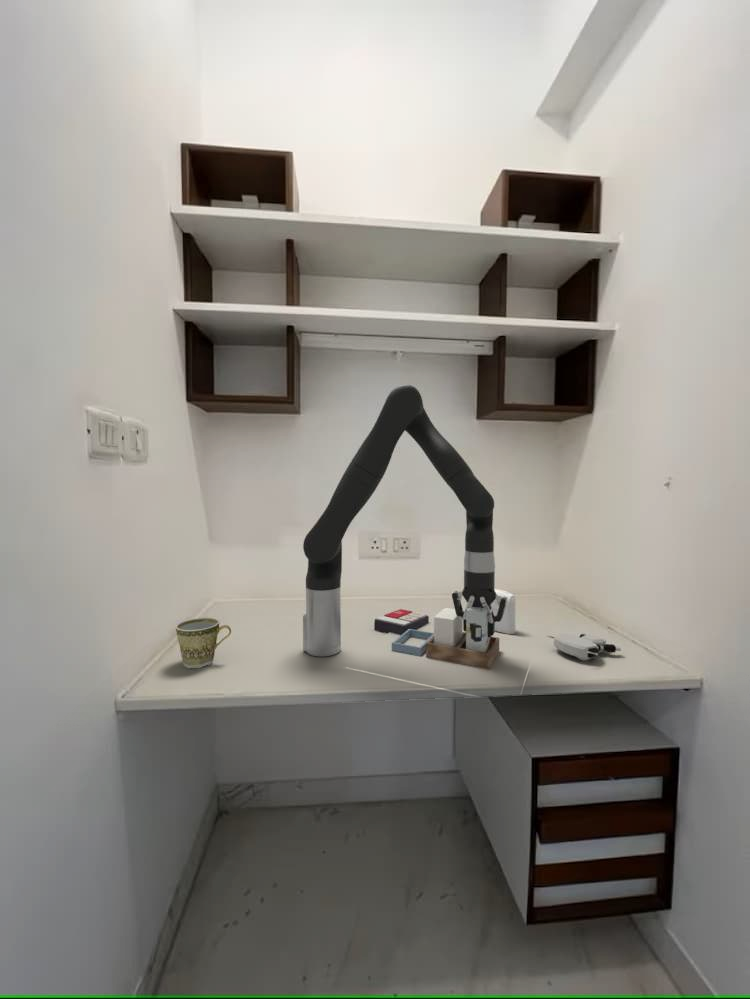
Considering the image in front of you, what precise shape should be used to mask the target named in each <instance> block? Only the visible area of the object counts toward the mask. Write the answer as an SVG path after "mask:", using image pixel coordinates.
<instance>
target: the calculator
mask: <svg viewBox="0 0 750 999" xmlns="http://www.w3.org/2000/svg"><path fill="white" fill-rule="evenodd" d="M429 620H430V616H429V615H428V614H426V613H423V612H422V613H421V612H417V611H412V610H407V609H402V608H399V609H397V610H393V611H391V612H389V613H385V614H384V615H381V616H379V617H376V618H375V619H374V622H373V623H374V626H373V627H374V628H373V630H374V631H375V632H379V633H383V634H387V635H388V634H389V633H390V634H394V635H399V636H401V635H402V634H403V633H404V632H406V631H407V630H408V629H413V630H418V629H420V628H421V627H423V626H425V625H427V624H429V623H430V622H429Z"/></svg>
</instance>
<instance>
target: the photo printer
mask: <svg viewBox="0 0 750 999" xmlns="http://www.w3.org/2000/svg"><path fill="white" fill-rule="evenodd" d="M494 589H495V592H496V595H498V596H501V597H507V603H506V606H505V610H504V614H503V618H502V619H501V621H500V622H495V632H499V633H502V634H507V635H514V634H515V633H516V597H515V596H514V595H515V594H512V593H510V592H508V591H505V590H503V589H500V588H499V589H496V588H494ZM491 606H492V609H493V613H494V616H496V615H497V613H498V609H499V605H498V604H497V600H494V601H493V602H492V604H491Z"/></svg>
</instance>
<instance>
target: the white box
mask: <svg viewBox="0 0 750 999" xmlns="http://www.w3.org/2000/svg"><path fill="white" fill-rule="evenodd" d="M433 622H434V624H433V627H434V628H433V633H434V644H438V645H444V646H450V647H457V646H458V644H459V643H460V642H461V641H462V639H463V631H464V630H463V618H462V617H460V616H457V615H456V612H455V608H447V607H445V608H443V609H442V610H441V611H440V612H438V613H437V614H436V615H435V616H434V617H433Z"/></svg>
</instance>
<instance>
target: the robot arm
mask: <svg viewBox="0 0 750 999" xmlns="http://www.w3.org/2000/svg"><path fill="white" fill-rule="evenodd" d="M404 432H406V433H407V434H408V435H409V436H410V437H411V438H412V439H413V440H414V441H415V442H416V444H417V445H419V448H421V449H422V451H423V453H424V454H425V455H426V457H427V459H428V460H429V462H430V463H431V465H432V466H433V467H434V469H435V470H436V471H437V473H438V475H439V476H440V477H441V478H442V479H443V480H444V481H443V482H445V483H446V485H447V486H448V487H449V488H450V489H451V490H452V491H453V493H454V494H455V496H456V498H458V500H459V502H460V504H461V505H462V506H463V509H464V510H465V518H466V519H465V520H466V522H465V523H466V529H465V539H464V540H465V541H464V542H465V543H464V544H465V545H464V550H465V551H464V558H463V573H464V574H463V589H462V591H457V590H455V591H453V593H452V594H451V597H452V601H453V607H454V609H455V612H456V615H457V616H460V617H462V618H463V631H464V632H466V616H467V609H468V608H469V607H482V608H484V609H487V614H488V621H489V622H488V637H489V638H491V637H494V634H495V632H496V631H495V622H500V621H501V619H502V618H503V614H504V610H505V606H506V603H507V597H501V596H498V595H496V592H495V589H496V588H495V574H496V572H495V571H496V563H495V562H496V561H495V553H494V550H495V549H494V548H495V546H494V545H495V544H494V543H495V542H494V540H495V537H494V531H493V529H494V528H493V523H494V521H493V520H494V508H495V499H494V498H493V496H492V495H491V494H490V492H489V491H488V489H487V488H486V487H485V486H484V485H483V484H482V483H481V481H480V480H479V479H478V478H477V477H476V476H475V474H474V472H473V470H472V469H471V468H470V465H468V463H467V462H466V460H464V458H463V457H462V456H461V454H460V453H459V452H458V451H457V450H456V448H455V447H454V446H453V445H452V444H451V443H450V442H449V441H448V440H447V439H446V438H445V437H444V435H442V434H441V432H440V431H439V430H437V428H436V426H435V425H434V424H433V423H432V420H431V418H430V417H429V415H428V413H427V411H426V409H425V408H424V402H423V397H422V395H421V393H420V391H419V390H418V389H417V388H416V387H415V386H413V385H410V384H401V385H398V386H396V387H394V388H393V389H392V390H391V391H390V392H389V394H388V396H387V397H386V399H385V402H384V404H383V406H382V409H381V411H380V412H379V415H378V416H377V419H376V422H374V425H373V427H372V429H371V431H370V432H369V433H368V434H367V436H366V437H365V439H364V440H363V442H362V444H361V445H360V446H359V448H358V450H357V452H356V453H355V455H354V456H353V457H352V459H351V461H350V462H349V464H348V466H347V467H346V469H345V471H344V473H343V474H342V477H341V478H340V480H339V481H338V484H337V485H336V487H335V490H334V492H333V494H332V496H331V498H330V501H329V503H328V505H327V506H326V508H325V510H324V511H323V513H322V514H321V515H320V517H319V518H318V519H317V521H316V522H315V523H314V525H313V526H312V528H311V529H310V530H309V531H308V533H307V534H306V535H305V537H304V539H303V544H302V546H303V547H302V548H303V553H304V555H305V557H306V558H307V573H306V576H305V614H303V615H302V651H303V652H306V653H307V654H308V655H310V656H313V657H330V656H334V655H336V654H339V652H341V649H342V640H341V638H342V616H341V614H342V611H341V608H342V607H341V606H342V605H341V604H342V603H341V602H342V597H341V594H342V593H341V591H342V590H341V588H342V586H341V584H342V583H341V580H342V572H343V568H342V567H343V564H342V563H343V561H342V560H343V559H342V558H343V538H344V537H345V534H346V532H347V530H348V529H349V526H350V525H351V524H352V521H353V520H354V519H355V517H356V516H357V515H358V514H359V512H361V510H362V509H363V508H364V506H366V504H367V502H368V501H369V500H370V499H371V497H372V496H373V494H374V493H375V491H376V490H377V488H378V486H379V484H380V483H381V481H382V479H383V478H384V475H385V474H386V472H387V469H388V467H389V464H390V462H391V460H392V456H393V453H394V451H395V448H396V446H397V444H398V441H399V440H400V438H401V437H402V435H403V434H404ZM462 598H464V600H465V601H466V603H467V605H466V606H465V610H464V609H463V607H462V606H463V605H462V602H461V600H462ZM494 600H497V604H498V605H499V609H498V613H497V615H496V616H494V613H493V609H492V606H491V604H492V602H493V601H494Z"/></svg>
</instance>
